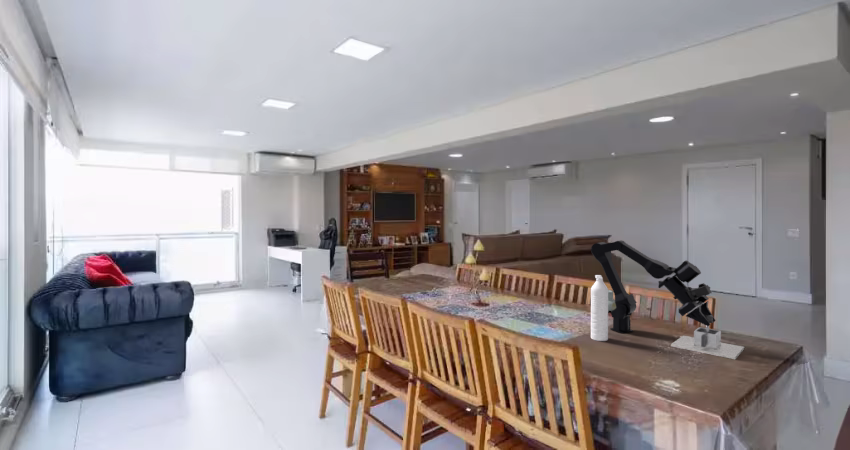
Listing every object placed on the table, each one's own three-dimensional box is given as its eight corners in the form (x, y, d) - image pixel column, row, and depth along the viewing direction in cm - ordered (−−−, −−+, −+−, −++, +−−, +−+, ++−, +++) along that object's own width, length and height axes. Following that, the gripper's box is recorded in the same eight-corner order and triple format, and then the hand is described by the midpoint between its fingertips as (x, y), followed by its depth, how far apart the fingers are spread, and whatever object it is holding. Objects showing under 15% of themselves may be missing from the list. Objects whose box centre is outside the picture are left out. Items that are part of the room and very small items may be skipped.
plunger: (696, 343, 160) (697, 315, 160) (700, 340, 164) (701, 313, 163) (713, 347, 156) (714, 318, 156) (717, 343, 160) (718, 315, 159)
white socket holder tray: (671, 346, 162) (671, 329, 162) (683, 337, 172) (683, 322, 172) (735, 359, 148) (735, 341, 147) (744, 348, 158) (744, 332, 158)
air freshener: (604, 307, 225) (604, 288, 224) (619, 309, 219) (619, 290, 218) (593, 310, 218) (593, 291, 217) (609, 313, 212) (609, 293, 211)
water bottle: (609, 341, 168) (609, 278, 167) (591, 340, 170) (591, 278, 169) (606, 335, 176) (606, 275, 175) (589, 334, 178) (589, 274, 177)
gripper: (688, 280, 155) (724, 315, 148) (702, 274, 168) (736, 306, 161) (664, 298, 161) (698, 333, 154) (680, 291, 174) (711, 323, 167)
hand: (711, 323), depth 159 cm, fingers open, 7 cm apart
